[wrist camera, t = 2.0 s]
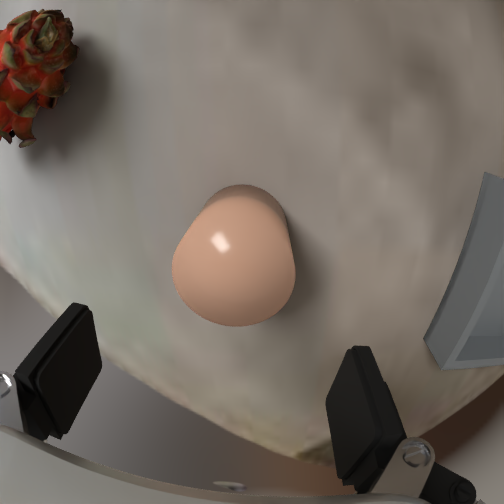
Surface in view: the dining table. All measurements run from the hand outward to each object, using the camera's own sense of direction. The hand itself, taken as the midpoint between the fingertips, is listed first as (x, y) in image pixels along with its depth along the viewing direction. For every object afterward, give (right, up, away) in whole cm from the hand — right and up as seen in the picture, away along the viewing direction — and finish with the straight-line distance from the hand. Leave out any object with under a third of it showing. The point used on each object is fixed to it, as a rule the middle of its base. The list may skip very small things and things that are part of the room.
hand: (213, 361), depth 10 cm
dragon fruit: (-15, +17, +7) cm, 23 cm away
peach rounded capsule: (+1, +6, +11) cm, 12 cm away
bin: (+26, +2, +11) cm, 29 cm away
